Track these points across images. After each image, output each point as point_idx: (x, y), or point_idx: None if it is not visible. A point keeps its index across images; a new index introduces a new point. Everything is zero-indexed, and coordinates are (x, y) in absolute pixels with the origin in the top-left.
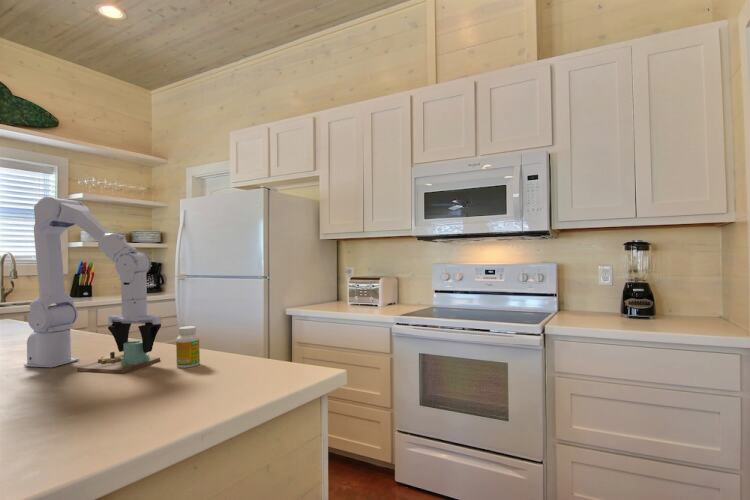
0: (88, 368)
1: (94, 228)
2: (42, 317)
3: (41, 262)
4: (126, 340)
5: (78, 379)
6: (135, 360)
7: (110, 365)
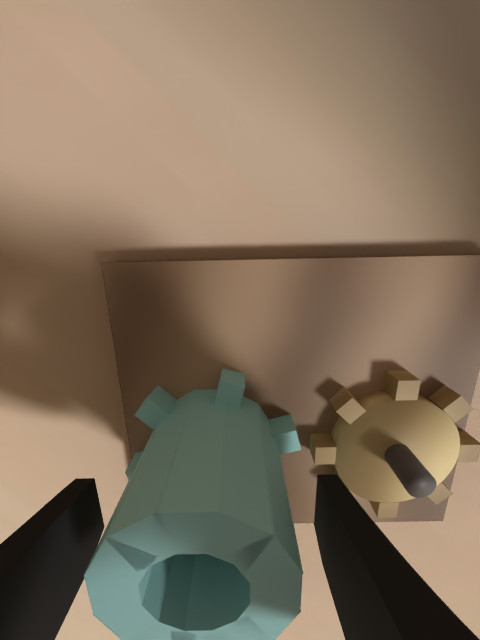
0: (401, 257)
1: None
2: None
3: None
4: (348, 629)
5: (301, 71)
6: (143, 405)
7: (299, 343)
